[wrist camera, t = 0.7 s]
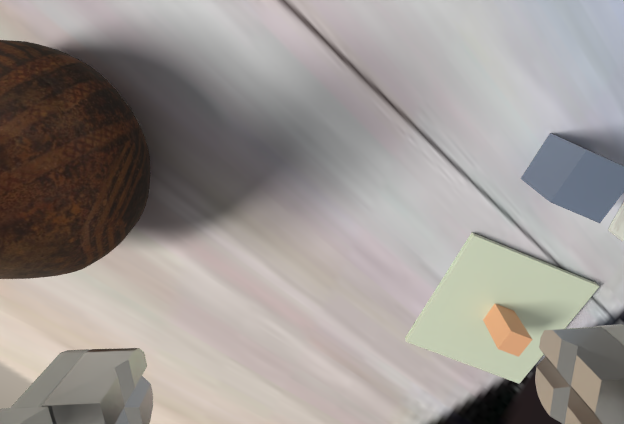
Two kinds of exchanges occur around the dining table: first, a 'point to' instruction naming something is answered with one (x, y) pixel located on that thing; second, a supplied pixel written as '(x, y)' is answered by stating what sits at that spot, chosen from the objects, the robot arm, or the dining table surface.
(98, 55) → the dining table surface
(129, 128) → the jug
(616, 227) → the supplement box
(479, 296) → the post board
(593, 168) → the blue-grey block
